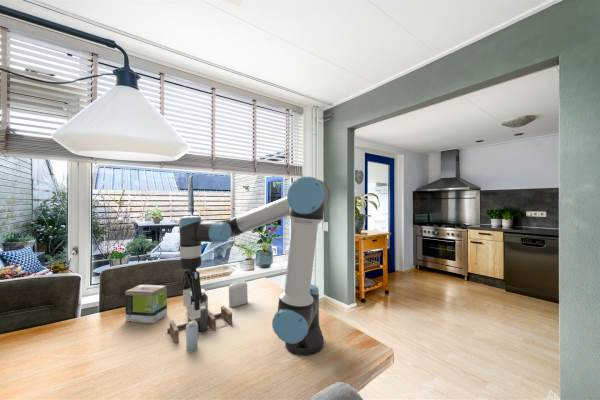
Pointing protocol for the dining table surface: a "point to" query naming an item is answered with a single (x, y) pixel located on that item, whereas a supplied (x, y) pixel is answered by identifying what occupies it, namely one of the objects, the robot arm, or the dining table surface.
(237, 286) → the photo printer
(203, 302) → the spread jar
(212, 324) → the comb rack
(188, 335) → the light blue bottle
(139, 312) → the tea box
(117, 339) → the dining table surface
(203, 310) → the charcoal plug
